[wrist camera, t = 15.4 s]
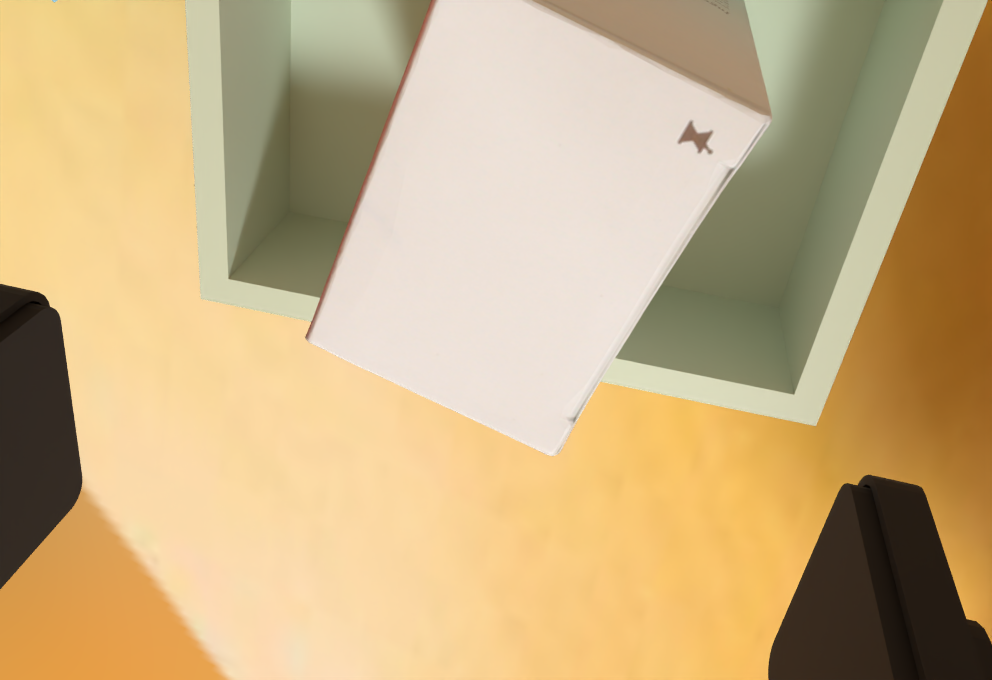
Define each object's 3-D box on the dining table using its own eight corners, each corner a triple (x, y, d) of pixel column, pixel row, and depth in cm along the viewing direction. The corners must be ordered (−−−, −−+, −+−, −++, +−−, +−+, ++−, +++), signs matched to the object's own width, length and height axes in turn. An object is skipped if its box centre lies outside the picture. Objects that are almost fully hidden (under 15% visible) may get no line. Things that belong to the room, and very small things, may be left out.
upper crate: (967, -156, 21) (1043, -138, 17) (795, 322, 28) (816, 426, 24) (273, -264, 22) (170, -274, 18) (274, 219, 29) (200, 299, 25)
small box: (541, -128, 22) (447, -62, 13) (746, -22, 23) (786, 110, 14) (423, 155, 26) (292, 346, 18) (597, 240, 27) (554, 468, 18)
